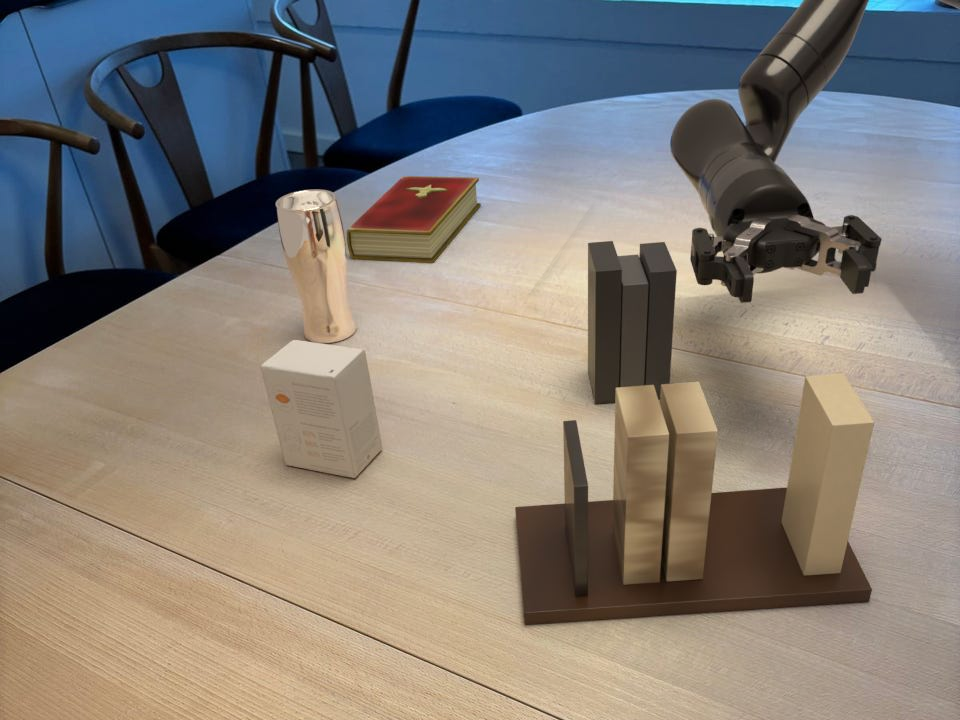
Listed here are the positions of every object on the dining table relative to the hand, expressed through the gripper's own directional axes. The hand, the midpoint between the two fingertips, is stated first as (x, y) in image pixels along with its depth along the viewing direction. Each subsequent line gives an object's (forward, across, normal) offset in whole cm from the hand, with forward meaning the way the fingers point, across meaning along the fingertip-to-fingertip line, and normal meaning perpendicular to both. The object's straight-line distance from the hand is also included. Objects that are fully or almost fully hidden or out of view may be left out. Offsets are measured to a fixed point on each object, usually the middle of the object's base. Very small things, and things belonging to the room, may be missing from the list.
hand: (804, 286), depth 74 cm
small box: (-9, -40, +18) cm, 45 cm away
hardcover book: (-68, -33, +17) cm, 77 cm away
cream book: (+11, 0, +16) cm, 20 cm away
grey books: (-19, -10, +17) cm, 28 cm away
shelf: (+10, -10, +18) cm, 22 cm away
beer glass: (-37, -43, +17) cm, 59 cm away
